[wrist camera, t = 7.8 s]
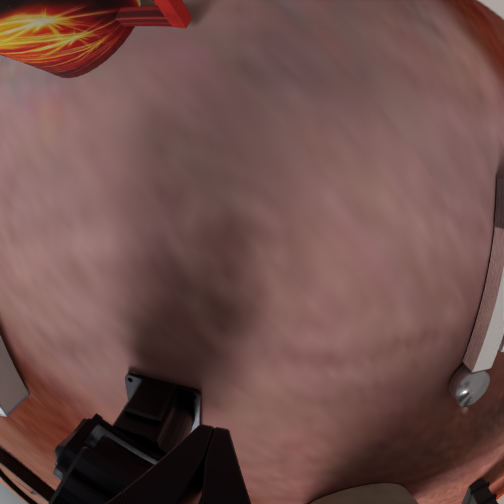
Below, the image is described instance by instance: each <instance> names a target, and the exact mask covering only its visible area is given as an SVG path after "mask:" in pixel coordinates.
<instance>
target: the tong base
mask: <svg viewBox="0 0 504 504" xmlns="http://www.w3.org/2000/svg"><path fill="white" fill-rule="evenodd" d="M498 350H499V351H500V352H504V335H503V338H502V341H501V344H500V346H499V349H498Z"/></svg>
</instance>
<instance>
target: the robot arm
mask: <svg viewBox="0 0 504 504" xmlns="http://www.w3.org/2000/svg"><path fill="white" fill-rule="evenodd" d="M125 383H126V389H127V396H128V402H127V403H126V405H125V406H124V409H123V410H122V412H121V413H120V415H119V416H118V418H117V419H116V421H115V422H114V424H113V425H111V424H109V423H108V422H106V421H105V420H103V419H102V417H101V416H100V415H98V414H97V413H96V414H95V416H94V417H93V418H92V419H90V418H89V419H83V420H82V422H81V423H80V424H79V425H78V427H77V428H76V429H75V430H74V432H73V433H72V434H70V435H69V436H68V437H67V438H66V439H65V440H64V441H62V442H61V443H60V444H59V445H58V446H57V447H56V449H55V451H54V452H55V456H56V459H57V461H56V463H55V466H56V468H55V470H54V472H53V475H54V476H55V477H57V478H58V479H59V480H61V482H60V484H59V486H58V488H57V489H56V491H55V493H54V494H53V496H52V498H51V500H50V501H49V504H251V501H250V498H249V495H248V492H247V489H246V486H245V483H244V479H243V476H242V473H241V470H240V466H239V463H238V459H237V456H236V453H235V449H234V446H233V442H232V439H231V435H230V431H229V430H228V429H224V428H219V427H216V428H214V427H212V426H208V425H203V424H200V411H201V393H200V391H198V390H197V389H193V388H188V387H184V386H180V385H175V384H171V383H167V382H163V381H159V380H155V379H152V378H148V377H144V376H141V375H137V374H134V373H128V374H127V375H126V376H125ZM193 394H194V395H196V396H194V395H193Z"/></svg>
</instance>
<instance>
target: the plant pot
mask: <svg viewBox="0 0 504 504" xmlns="http://www.w3.org/2000/svg"><path fill="white" fill-rule="evenodd" d="M310 504H418V503H417V502H416V500H415V499H414V498H413V497H412V496H411V494H410V493H409V492H408V491H407V490H406V489H405V488H404V487H403V486H401V485H398V484H393V483H378V484H369V485H363V486H358V487H353V488H349V489H346V490H342V491H339V492H336V493H333V494H330V495H327V496H324V497H322V498H320V499H317V500H315V501H313V502H312V503H310Z"/></svg>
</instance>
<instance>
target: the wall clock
mask: <svg viewBox="0 0 504 504" xmlns="http://www.w3.org/2000/svg"><path fill="white" fill-rule="evenodd" d="M0 477H1V478H2V480H3V481H4V482H5V483H6V484H7V485H8V486H9V487H10V488H11V489H12V490H14V491H15V492H16V493H17V494H18V495H19V496H20V497H21V498H23V499H24V500H25V501H26V502H28V503H29V504H49V501H50V500H51V498H52V496H53V494H54V493H55V491H53V490H52V489H51V488H50V487H49V486H47V485H46V484H45V483H44V482H42V481H41V480H40V479H39V478H38V477H36V476H35V475H34V474H33V473H31V472H30V471H29V470H28V469H26V468H25V467H24V466H23V465H21V464H20V463H19V462H18V461H16V460H15V459H14V458H13V457H11V456H10V455H9V454H7V453H6V452H4V451H3V450H2V449H0Z"/></svg>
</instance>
